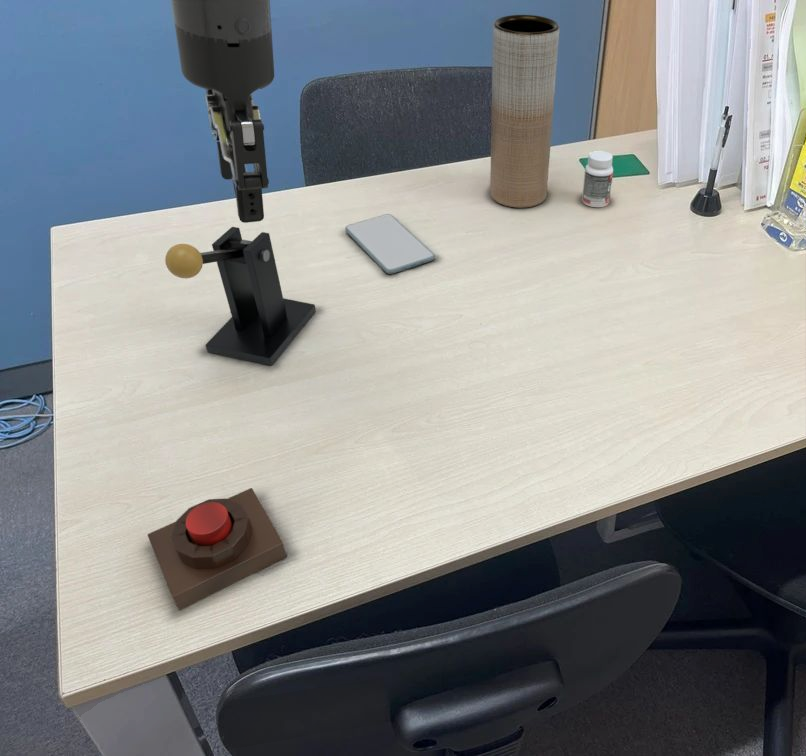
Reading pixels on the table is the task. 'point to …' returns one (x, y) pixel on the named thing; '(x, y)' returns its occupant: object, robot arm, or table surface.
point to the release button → (208, 523)
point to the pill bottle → (598, 179)
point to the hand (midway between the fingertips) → (242, 198)
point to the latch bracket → (256, 305)
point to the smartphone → (389, 243)
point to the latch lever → (201, 257)
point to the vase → (522, 108)
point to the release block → (217, 551)
